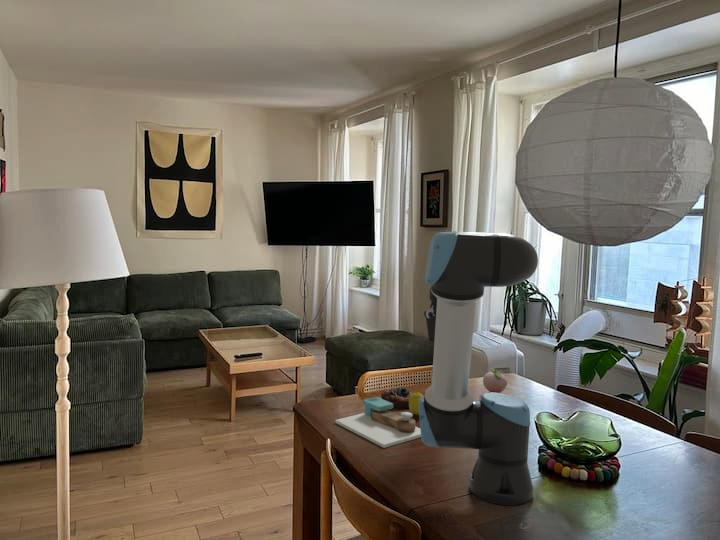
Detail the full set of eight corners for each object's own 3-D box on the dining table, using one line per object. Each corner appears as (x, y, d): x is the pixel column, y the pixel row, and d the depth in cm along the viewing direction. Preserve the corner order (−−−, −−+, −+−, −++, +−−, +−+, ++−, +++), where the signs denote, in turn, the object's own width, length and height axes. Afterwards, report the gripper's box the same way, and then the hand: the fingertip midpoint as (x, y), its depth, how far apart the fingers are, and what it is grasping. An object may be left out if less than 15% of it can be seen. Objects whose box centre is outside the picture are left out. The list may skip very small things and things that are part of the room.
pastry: (376, 402, 206) (376, 386, 206) (403, 397, 213) (403, 382, 212) (394, 411, 197) (395, 395, 196) (422, 406, 203) (422, 390, 203)
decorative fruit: (478, 391, 222) (479, 366, 221) (497, 390, 224) (499, 365, 223) (489, 399, 213) (490, 372, 212) (509, 398, 215) (511, 372, 214)
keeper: (392, 421, 186) (393, 403, 186) (378, 425, 183) (379, 407, 182) (376, 414, 193) (376, 396, 192) (362, 417, 189) (362, 399, 189)
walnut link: (418, 429, 177) (419, 421, 177) (406, 433, 173) (407, 425, 173) (381, 415, 188) (381, 408, 188) (369, 419, 184) (369, 411, 184)
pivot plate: (427, 435, 176) (428, 416, 175) (384, 447, 165) (384, 427, 165) (377, 412, 195) (378, 395, 194) (335, 422, 184) (335, 404, 183)
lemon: (424, 412, 196) (425, 389, 195) (424, 418, 191) (425, 394, 190) (408, 411, 197) (409, 388, 196) (408, 417, 191) (409, 393, 190)
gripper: (436, 290, 168) (433, 369, 170) (465, 288, 176) (462, 363, 178) (418, 287, 174) (415, 364, 176) (447, 285, 182) (444, 359, 184)
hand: (439, 364), depth 177 cm, fingers closed
